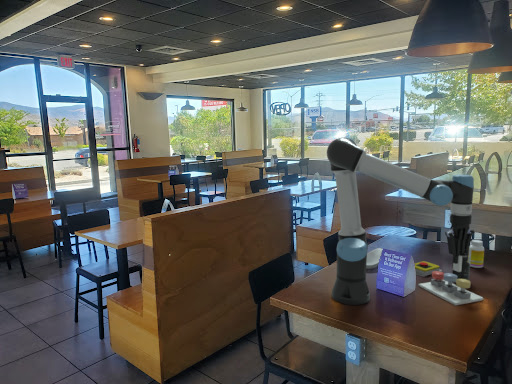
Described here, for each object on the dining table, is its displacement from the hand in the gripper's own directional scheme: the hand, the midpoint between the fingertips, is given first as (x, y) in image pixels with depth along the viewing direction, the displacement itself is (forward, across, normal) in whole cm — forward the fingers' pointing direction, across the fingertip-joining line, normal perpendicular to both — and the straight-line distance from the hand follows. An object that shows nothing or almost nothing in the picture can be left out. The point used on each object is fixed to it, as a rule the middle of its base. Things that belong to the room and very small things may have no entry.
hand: (457, 270), depth 155 cm
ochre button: (+7, 0, -4) cm, 8 cm away
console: (+11, 0, +3) cm, 11 cm away
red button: (+8, 0, +9) cm, 13 cm away
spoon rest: (+11, -8, +44) cm, 46 cm away
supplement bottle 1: (+11, +14, +10) cm, 21 cm away
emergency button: (+11, +9, +27) cm, 31 cm away
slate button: (+7, 0, +3) cm, 8 cm away
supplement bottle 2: (+11, +37, +23) cm, 45 cm away
